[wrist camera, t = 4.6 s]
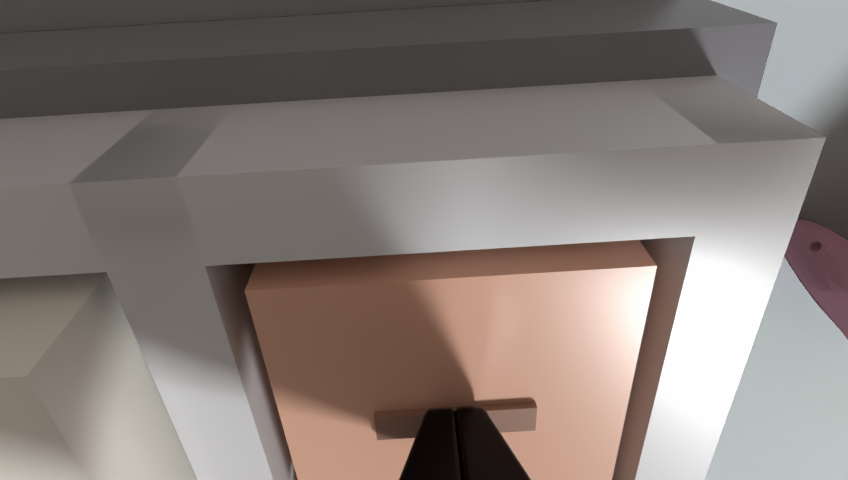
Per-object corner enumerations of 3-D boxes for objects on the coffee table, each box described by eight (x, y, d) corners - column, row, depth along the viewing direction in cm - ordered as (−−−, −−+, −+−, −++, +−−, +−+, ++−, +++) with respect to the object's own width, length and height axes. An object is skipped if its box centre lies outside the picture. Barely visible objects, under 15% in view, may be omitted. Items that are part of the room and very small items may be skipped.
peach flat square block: (575, 416, 11) (608, 514, 10) (324, 432, 11) (309, 532, 10) (607, 193, 9) (661, 271, 7) (275, 213, 9) (242, 296, 7)
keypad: (588, 515, 19) (647, 711, 15) (-34, 553, 19) (-173, 761, 15) (685, -9, 10) (916, 69, 6) (-480, 62, 10) (-1203, 198, 6)
